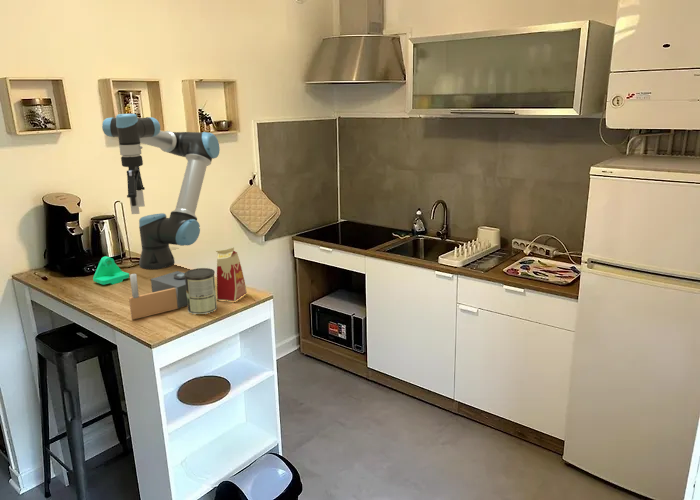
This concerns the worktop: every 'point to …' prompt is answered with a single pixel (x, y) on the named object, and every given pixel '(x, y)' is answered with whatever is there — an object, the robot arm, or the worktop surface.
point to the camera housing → (171, 285)
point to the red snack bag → (229, 276)
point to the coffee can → (200, 290)
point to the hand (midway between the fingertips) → (138, 210)
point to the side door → (151, 301)
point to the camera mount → (109, 272)
